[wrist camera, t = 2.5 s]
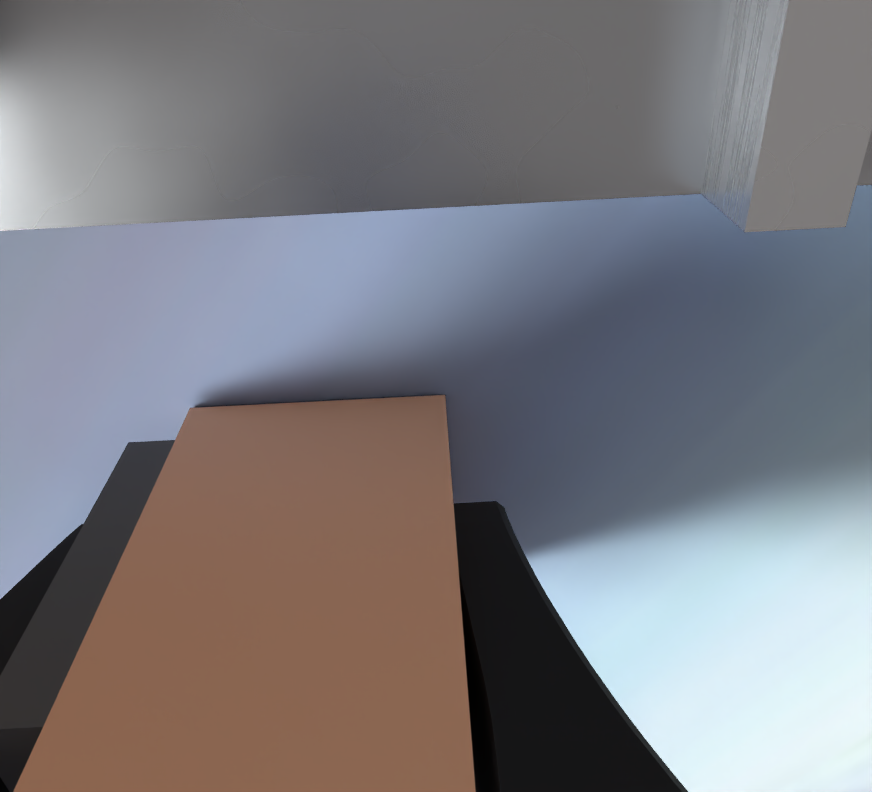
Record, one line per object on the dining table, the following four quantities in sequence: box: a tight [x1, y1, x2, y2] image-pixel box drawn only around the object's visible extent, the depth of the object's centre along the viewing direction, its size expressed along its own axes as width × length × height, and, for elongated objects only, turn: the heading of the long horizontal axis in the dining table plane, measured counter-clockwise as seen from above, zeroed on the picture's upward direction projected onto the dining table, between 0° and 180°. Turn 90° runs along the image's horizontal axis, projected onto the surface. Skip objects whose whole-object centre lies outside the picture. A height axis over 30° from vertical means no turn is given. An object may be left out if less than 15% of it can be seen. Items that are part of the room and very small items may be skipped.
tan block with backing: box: [0, 395, 476, 792], centre depth 9 cm, size 4×4×6 cm
